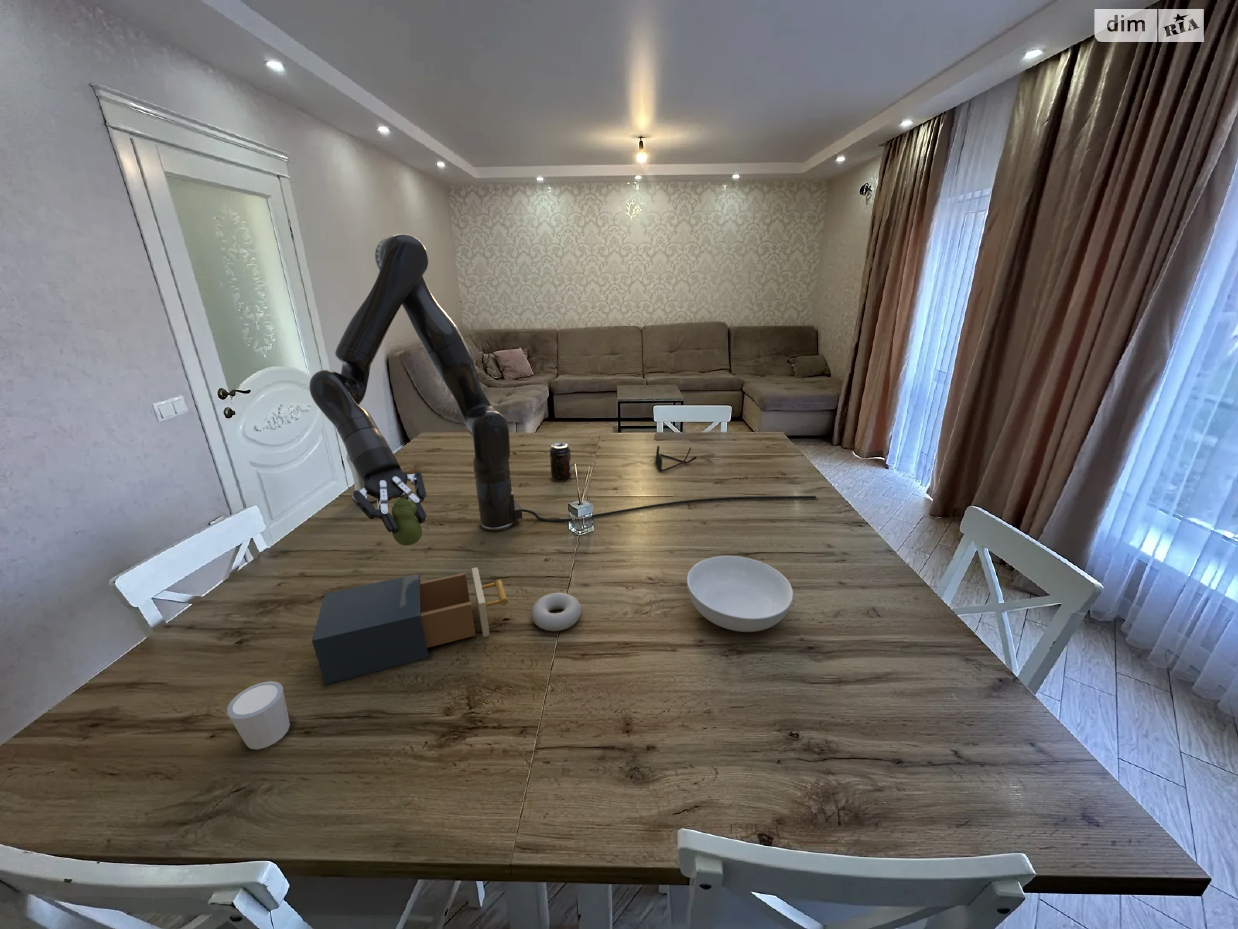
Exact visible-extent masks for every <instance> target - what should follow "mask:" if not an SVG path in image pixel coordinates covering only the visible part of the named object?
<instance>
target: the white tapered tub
mask: <svg viewBox="0 0 1238 929" xmlns="http://www.w3.org/2000/svg"><path fill="white" fill-rule="evenodd" d="M226 713H227V716H228V718H229V720H230V721H231V723H232V724H233V726H234V728H235V729H236V731H237V732H238V734H239V736H240V737H241V739H242V740H243V742H244V744H245V746H247V748H249V749H251V750H261V749H267V748H268V747H271V746H272V745H274V744H276V743H277V742H278V741H280V740H281V739H283V738H284V736H286V734H287V733H288V732H289V730H290V727H291V724H290V718H289V713H288V708H287V703H286V698H285V693H284V688H283V685H282V684H281V683H280V682H278V681H273V680H272V681H271V680H268V681H263V682H258V683H256V684H254V685H251V686H249V687H247V688H245V689H244V690H242V691H241V692H239V693H238V694H237V695H236V696H235V697H234V698H233V699H231V701H230V702H229V704H228V706H227V708H226Z"/></svg>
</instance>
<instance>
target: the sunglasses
mask: <svg viewBox="0 0 1238 929" xmlns="http://www.w3.org/2000/svg"><path fill="white" fill-rule="evenodd" d="M691 449H692V448H691V446H690V447H689V449H688V450H687V454H686V456H685V458H684V459H683V460H682V459H680V458H679V459H678V458H676V457H673V456H669V455H666V454H662V453H660V445H657V447H656V452H655V453H656V454H655V462H654V463H655V465H656V468H657V469H658V471H659V472H666V471H669V470H671V469H673V468H676V467H678V466H680V465H682V464H689V463H691V462H693V461H695V460H696V459H697V455H695V456H693V457H692V458H691V459H689V460H687V459H688V456H689V455H690V452H691ZM662 457H664V458H668V459H671V460H674V461H677V462H679V463H677V464H674V465H671V466H668V467H666V468H664V469H663V468H662V467H663V458H662Z"/></svg>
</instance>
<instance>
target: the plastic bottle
mask: <svg viewBox="0 0 1238 929" xmlns="http://www.w3.org/2000/svg"><path fill="white" fill-rule="evenodd" d="M345 459H346V461H347V464H348V466H349V469H350V472H351V475H352V478H353V484H354V485H353V486H354V491H355V490H358V491H359V490H361V489H363V488H364V484H363V482H362V480H361V478H360V476H359V474H358V473H357V471H356V469H355V467H354V465H353V463H352V462H351V461H350V457H349V455H348V453H347V452H346V457H345ZM366 495H367V500H368V501H369V502H370V503H373V502H375V501H377V498H375V497H373V496H371V495H369V494H367V493H366Z"/></svg>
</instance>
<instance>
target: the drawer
mask: <svg viewBox="0 0 1238 929" xmlns="http://www.w3.org/2000/svg"><path fill="white" fill-rule="evenodd" d="M471 574H472V582H473V589H474V596H475V602H476V606H477V612H478V618H479V621H480V627H481V633H482V637H483V638H487V637H489V636H490V635H491V634H490V626H489V619H488V613H487V612H488V611H487V608H488V607H492V606H496V605H501V606H505V605H507V604H508V603H509V602H508V601H509V600H508V597H507V593H506V590H505V587H504V582H503V580H502V579H496V580H495V581H494V582H492V583H486V584H482V581H481V577H480V572H479V567H472V568H471ZM493 587H495V589H496V593H497V596H498V599H495V600H490V601H486V599H485V595H484V591H483V590H486V589H490V588H493ZM472 608H473V607H472V602H471V600H470V594H469V586H468V580H467V573H466V572H461V573H457V574H453V575H447V576H442V577H438V578H433V579H429V580H424V581H420V613H421V621H422V626H423V631H424V636H425V641H426V647H427V648H428V649H429V648H432V647H436V646H439V645H440V646H441V645H443V644H447V643H451V642H456V641H459V640H460V641H461V640H463V639H467V638H471V637H475V636H476V629H475V628H476V626H475V620H474V615H473V609H472Z"/></svg>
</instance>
